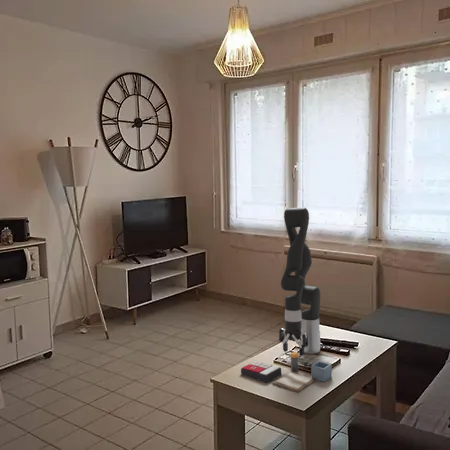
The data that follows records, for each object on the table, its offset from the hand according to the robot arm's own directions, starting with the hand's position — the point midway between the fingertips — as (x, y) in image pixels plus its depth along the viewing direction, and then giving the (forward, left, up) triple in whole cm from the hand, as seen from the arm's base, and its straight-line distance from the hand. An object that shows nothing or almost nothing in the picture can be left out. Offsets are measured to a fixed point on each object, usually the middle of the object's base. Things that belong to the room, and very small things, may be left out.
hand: (293, 353), depth 228 cm
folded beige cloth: (+11, +7, -8) cm, 15 cm away
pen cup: (0, +14, -8) cm, 16 cm away
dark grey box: (+12, -10, -9) cm, 18 cm away
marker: (0, 0, -8) cm, 8 cm away
